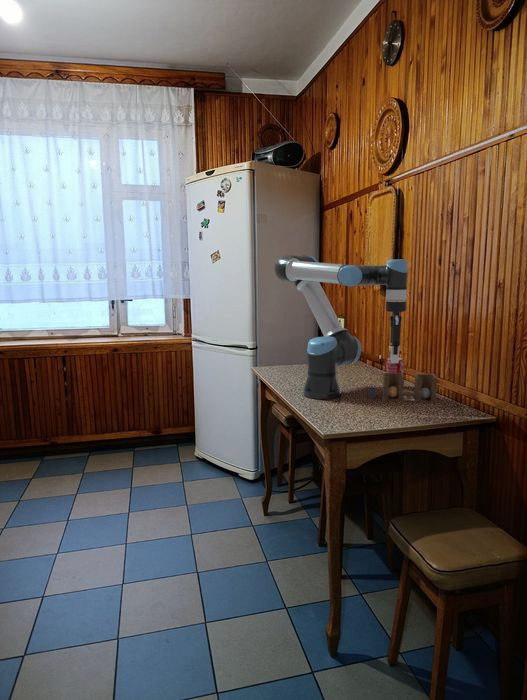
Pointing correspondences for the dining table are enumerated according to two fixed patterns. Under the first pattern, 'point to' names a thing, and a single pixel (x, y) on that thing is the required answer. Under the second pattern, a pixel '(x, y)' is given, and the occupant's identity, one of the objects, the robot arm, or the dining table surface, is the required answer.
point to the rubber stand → (371, 392)
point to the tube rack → (420, 382)
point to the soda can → (394, 366)
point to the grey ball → (425, 393)
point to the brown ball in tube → (393, 392)
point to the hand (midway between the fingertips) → (394, 361)
